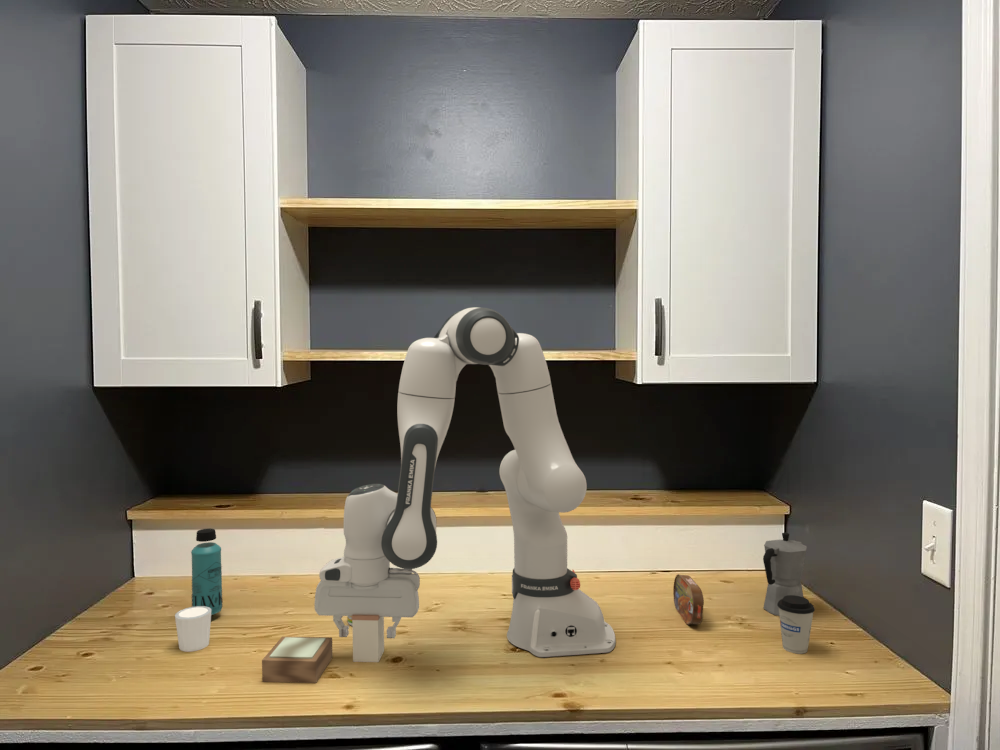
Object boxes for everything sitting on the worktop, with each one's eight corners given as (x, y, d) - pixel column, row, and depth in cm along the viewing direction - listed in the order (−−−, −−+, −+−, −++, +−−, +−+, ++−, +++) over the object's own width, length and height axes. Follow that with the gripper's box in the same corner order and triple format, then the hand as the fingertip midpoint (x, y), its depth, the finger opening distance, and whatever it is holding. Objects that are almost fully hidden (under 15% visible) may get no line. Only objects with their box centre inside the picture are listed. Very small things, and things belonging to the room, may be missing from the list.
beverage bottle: (185, 621, 152) (182, 533, 151) (205, 610, 159) (202, 525, 158) (211, 624, 151) (208, 534, 150) (229, 612, 157) (227, 526, 156)
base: (332, 657, 135) (332, 635, 135) (316, 682, 125) (315, 659, 125) (282, 656, 135) (282, 635, 135) (262, 681, 125) (261, 658, 125)
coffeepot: (779, 597, 165) (781, 523, 164) (818, 608, 158) (820, 531, 157) (744, 613, 155) (745, 535, 154) (784, 627, 148) (785, 545, 147)
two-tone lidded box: (384, 650, 138) (384, 605, 137) (378, 662, 133) (378, 616, 132) (359, 649, 138) (358, 605, 138) (352, 661, 133) (351, 615, 133)
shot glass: (219, 640, 143) (218, 607, 142) (196, 654, 136) (195, 620, 136) (191, 636, 145) (191, 604, 144) (168, 650, 138) (167, 616, 138)
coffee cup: (795, 638, 142) (796, 591, 142) (822, 652, 136) (823, 603, 135) (768, 644, 140) (769, 596, 139) (794, 659, 133) (795, 608, 133)
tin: (672, 604, 161) (672, 568, 161) (685, 603, 161) (685, 568, 161) (691, 631, 146) (691, 592, 146) (705, 631, 146) (706, 592, 146)
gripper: (422, 563, 137) (422, 631, 138) (321, 561, 138) (322, 628, 139) (416, 574, 131) (417, 645, 131) (311, 572, 132) (312, 642, 132)
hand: (367, 636), depth 135 cm, fingers open, 8 cm apart
